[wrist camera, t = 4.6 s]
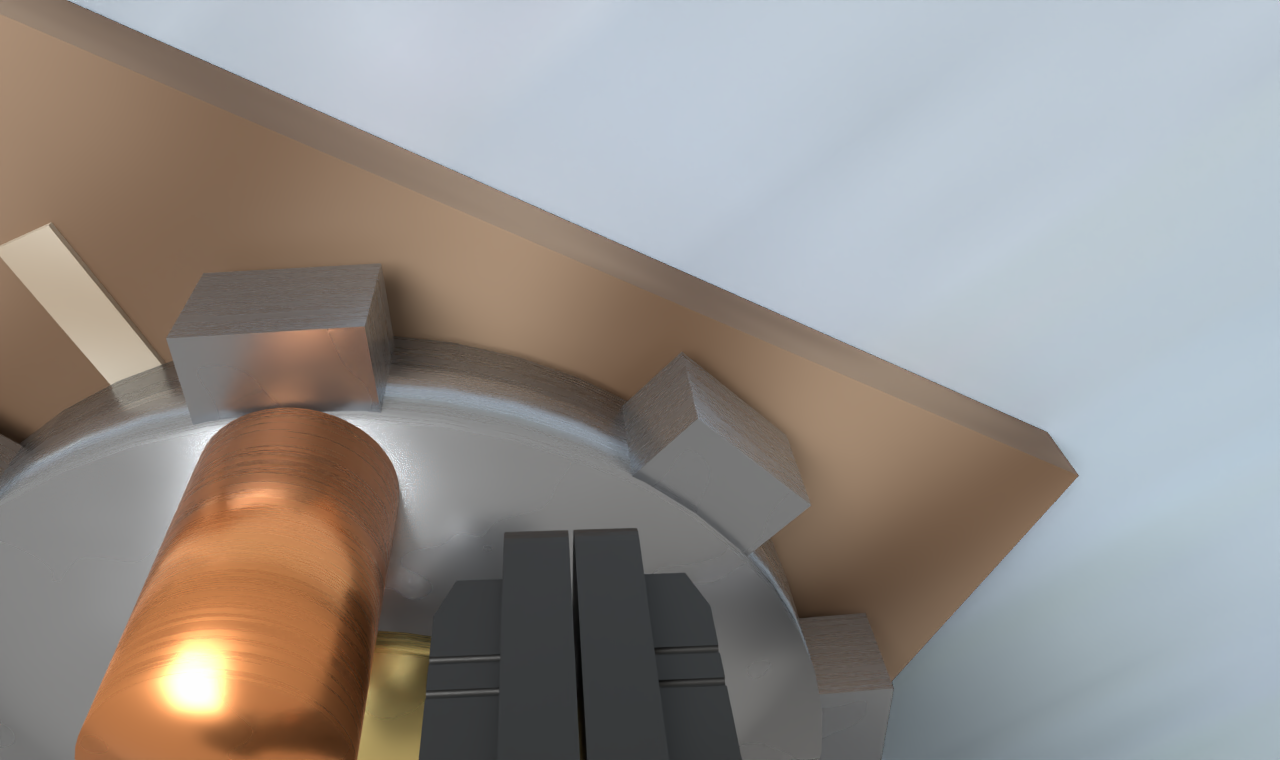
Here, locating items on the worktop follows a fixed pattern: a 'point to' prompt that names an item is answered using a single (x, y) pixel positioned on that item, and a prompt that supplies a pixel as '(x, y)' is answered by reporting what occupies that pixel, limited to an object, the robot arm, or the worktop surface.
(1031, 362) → the worktop surface
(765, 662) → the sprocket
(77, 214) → the board
